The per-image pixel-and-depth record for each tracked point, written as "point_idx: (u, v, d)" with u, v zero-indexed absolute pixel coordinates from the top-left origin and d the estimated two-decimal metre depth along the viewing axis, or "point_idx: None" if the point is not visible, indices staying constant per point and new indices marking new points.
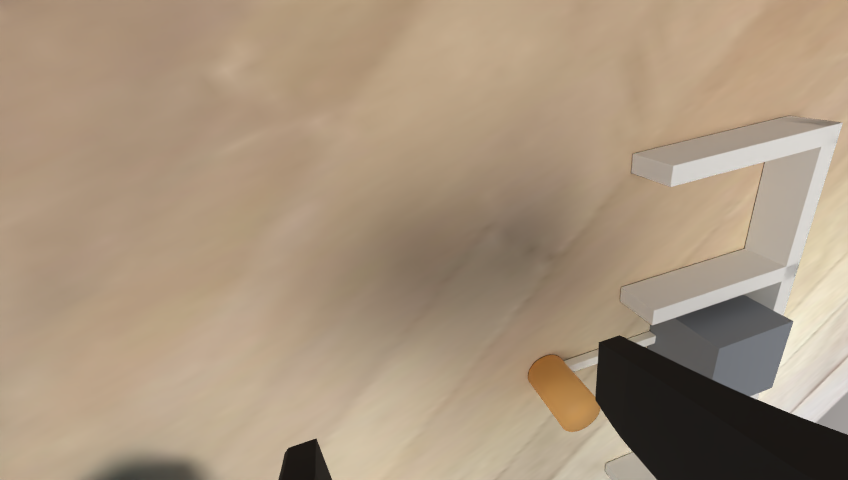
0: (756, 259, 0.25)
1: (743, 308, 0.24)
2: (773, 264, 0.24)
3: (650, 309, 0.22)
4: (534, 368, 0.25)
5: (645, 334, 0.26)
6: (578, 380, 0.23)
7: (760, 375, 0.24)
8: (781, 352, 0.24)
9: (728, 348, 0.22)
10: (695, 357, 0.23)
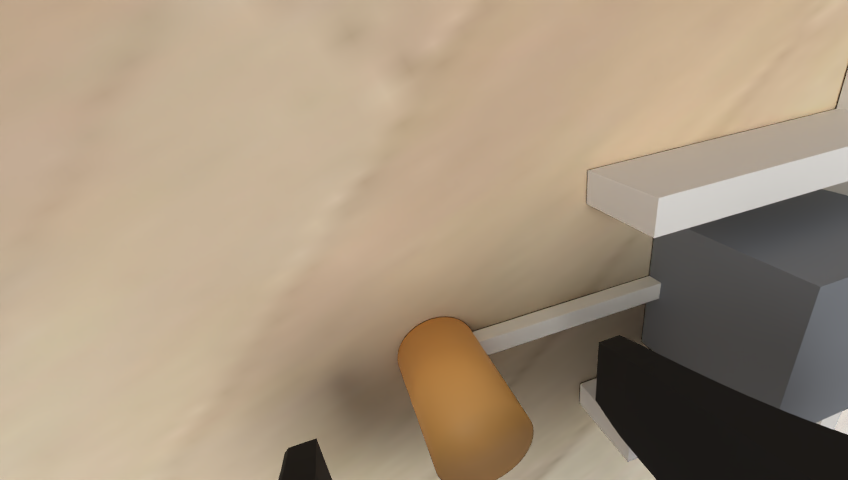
0: None
1: None
2: None
3: (650, 198, 0.09)
4: (406, 344, 0.12)
5: (640, 281, 0.14)
6: (488, 368, 0.10)
7: None
8: None
9: (840, 287, 0.09)
10: (751, 317, 0.11)
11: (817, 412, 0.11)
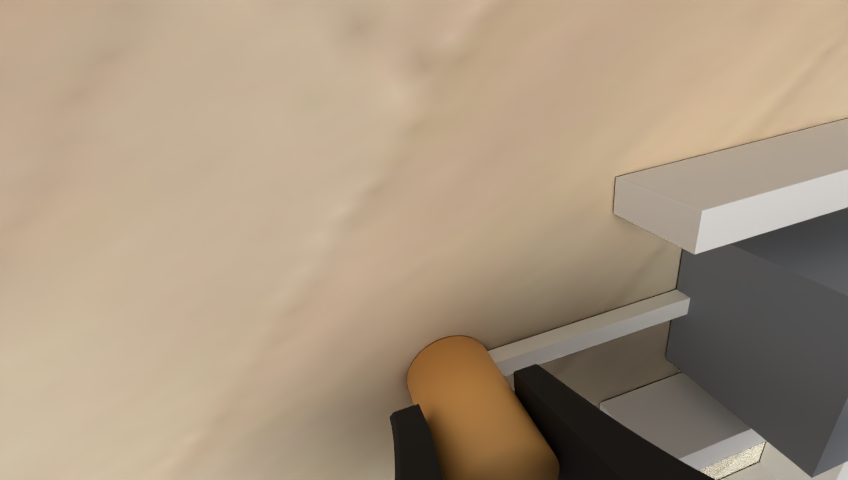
0: None
1: None
2: None
3: (691, 210, 0.08)
4: (416, 366, 0.11)
5: (667, 295, 0.13)
6: (508, 396, 0.09)
7: None
8: None
9: None
10: (797, 340, 0.10)
11: None
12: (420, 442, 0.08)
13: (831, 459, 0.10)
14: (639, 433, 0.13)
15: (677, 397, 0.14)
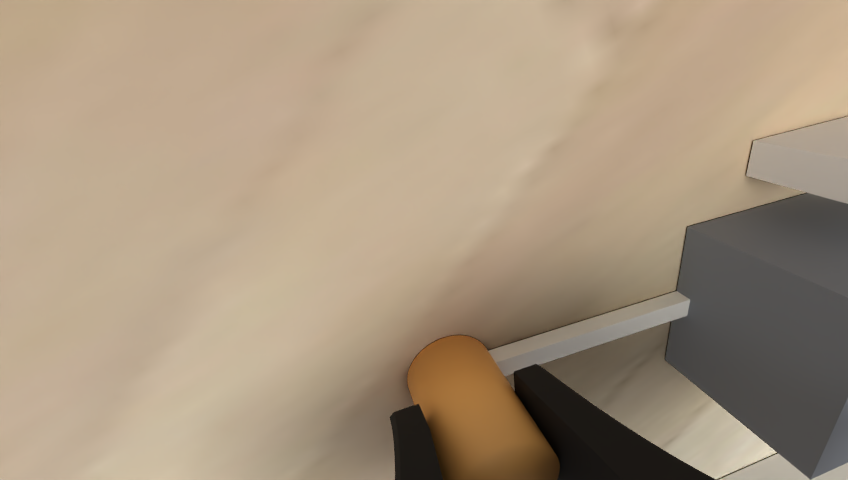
0: None
1: None
2: None
3: None
4: (417, 365, 0.11)
5: (667, 297, 0.13)
6: (508, 395, 0.09)
7: None
8: None
9: None
10: (796, 342, 0.10)
11: None
12: (420, 442, 0.08)
13: (830, 461, 0.10)
14: None
15: None
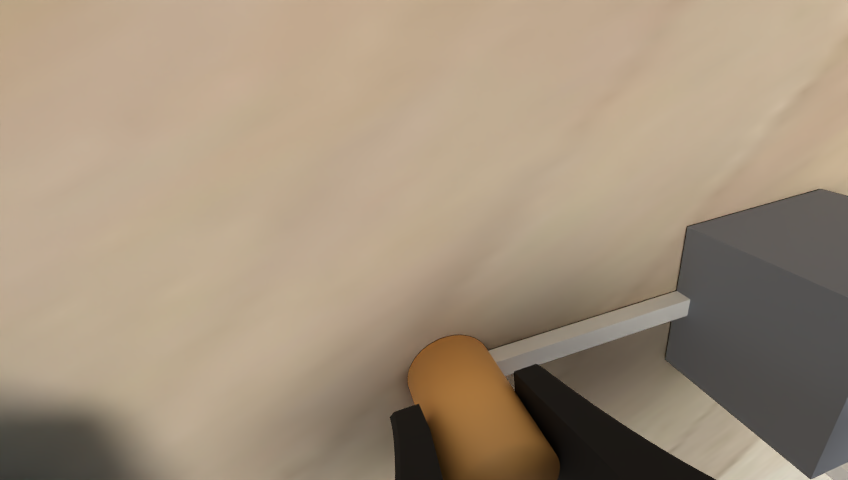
0: None
1: None
2: None
3: None
4: (417, 365, 0.11)
5: (668, 297, 0.13)
6: (508, 395, 0.09)
7: None
8: None
9: None
10: (796, 342, 0.10)
11: None
12: (420, 442, 0.08)
13: (830, 461, 0.10)
14: None
15: None
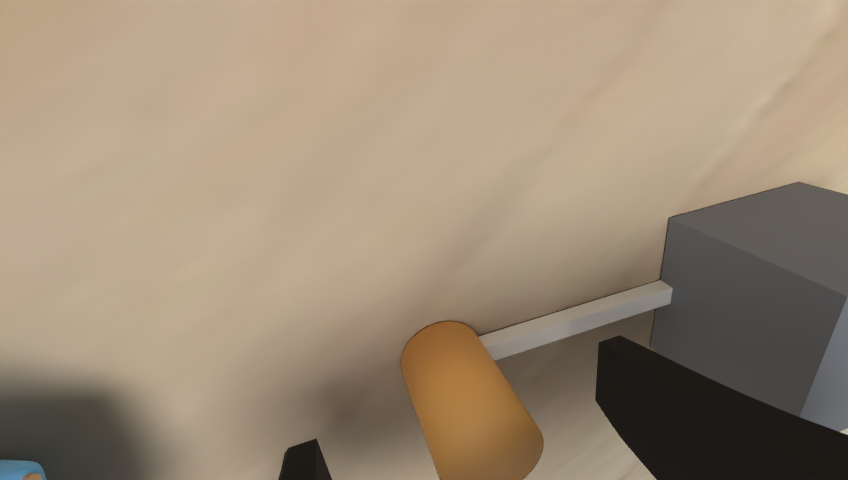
0: None
1: None
2: None
3: None
4: (409, 349, 0.11)
5: (651, 285, 0.13)
6: (496, 376, 0.10)
7: None
8: None
9: None
10: (769, 326, 0.10)
11: (835, 424, 0.11)
12: None
13: None
14: None
15: None
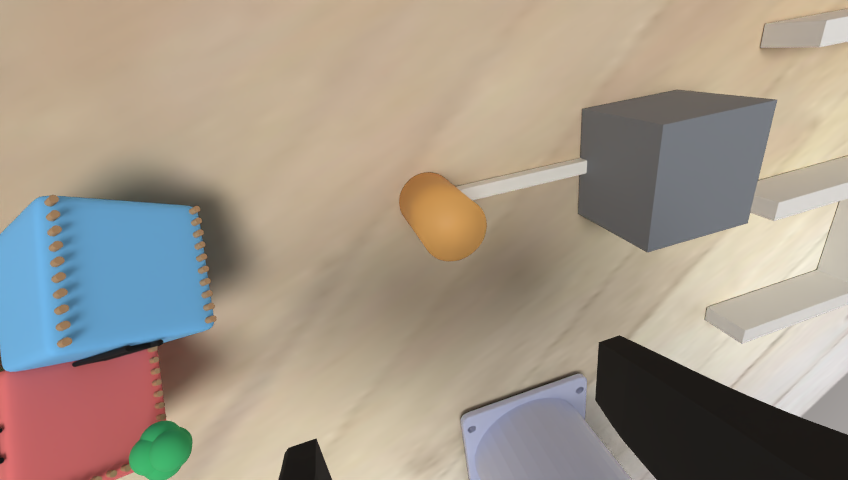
0: None
1: (706, 99, 0.17)
2: None
3: (819, 23, 0.17)
4: (405, 188, 0.17)
5: (573, 160, 0.19)
6: (459, 190, 0.16)
7: (729, 196, 0.16)
8: (760, 158, 0.16)
9: (677, 128, 0.14)
10: (633, 163, 0.16)
11: (681, 232, 0.17)
12: None
13: (658, 239, 0.16)
14: (762, 194, 0.21)
15: (780, 182, 0.22)
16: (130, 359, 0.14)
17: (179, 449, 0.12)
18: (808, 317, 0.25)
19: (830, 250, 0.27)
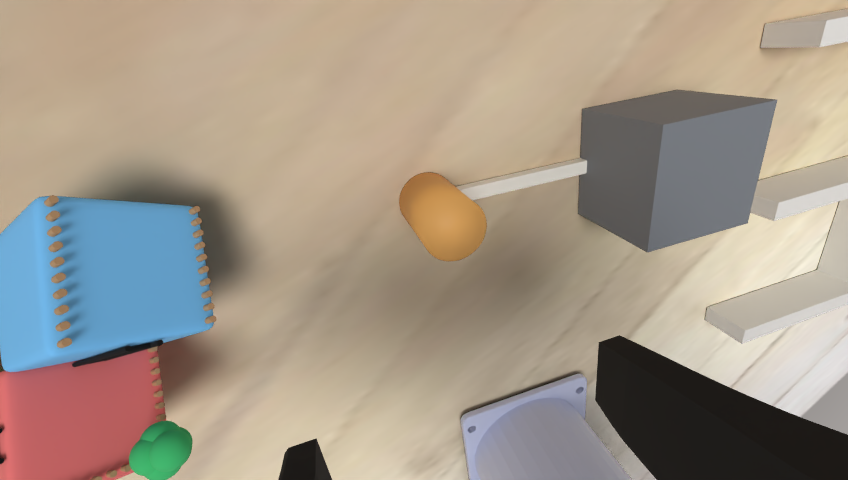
0: None
1: (706, 99, 0.17)
2: None
3: (819, 23, 0.17)
4: (405, 188, 0.17)
5: (573, 160, 0.19)
6: (459, 190, 0.16)
7: (729, 196, 0.16)
8: (760, 158, 0.16)
9: (677, 128, 0.14)
10: (633, 163, 0.16)
11: (681, 232, 0.17)
12: None
13: (658, 239, 0.16)
14: (762, 194, 0.21)
15: (780, 182, 0.22)
16: (130, 359, 0.14)
17: (179, 449, 0.12)
18: (808, 317, 0.25)
19: (830, 250, 0.27)
